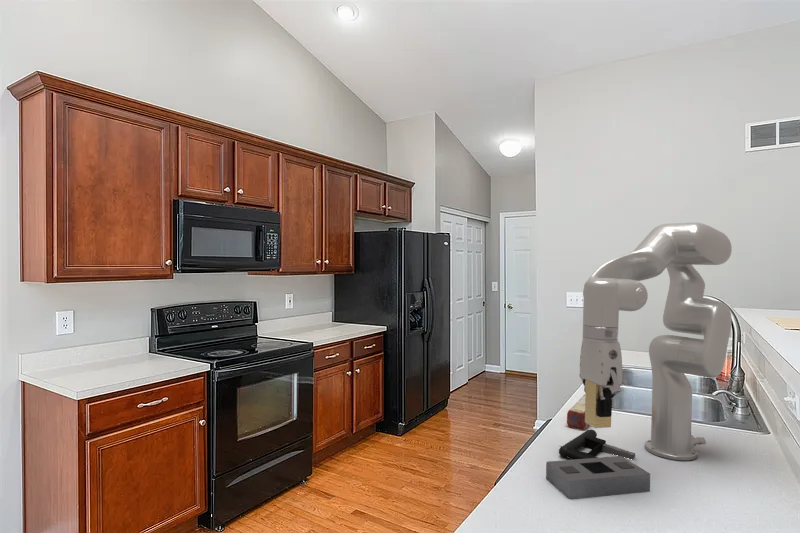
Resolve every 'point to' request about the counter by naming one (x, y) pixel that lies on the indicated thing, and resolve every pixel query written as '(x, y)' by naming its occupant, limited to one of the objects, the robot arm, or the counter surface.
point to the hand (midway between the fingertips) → (598, 412)
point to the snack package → (577, 415)
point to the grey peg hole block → (597, 477)
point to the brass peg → (594, 407)
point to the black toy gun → (590, 447)
